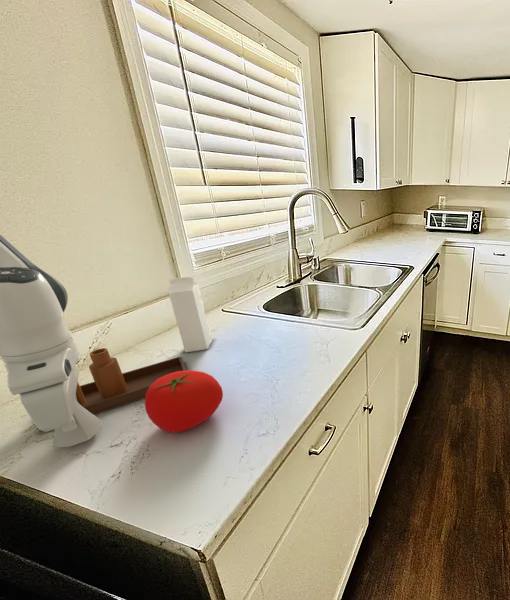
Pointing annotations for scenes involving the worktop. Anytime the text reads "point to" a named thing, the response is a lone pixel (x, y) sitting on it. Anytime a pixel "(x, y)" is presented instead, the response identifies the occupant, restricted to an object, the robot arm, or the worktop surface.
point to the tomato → (182, 400)
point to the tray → (130, 385)
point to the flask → (78, 428)
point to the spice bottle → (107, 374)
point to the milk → (189, 313)
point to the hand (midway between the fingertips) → (72, 419)
